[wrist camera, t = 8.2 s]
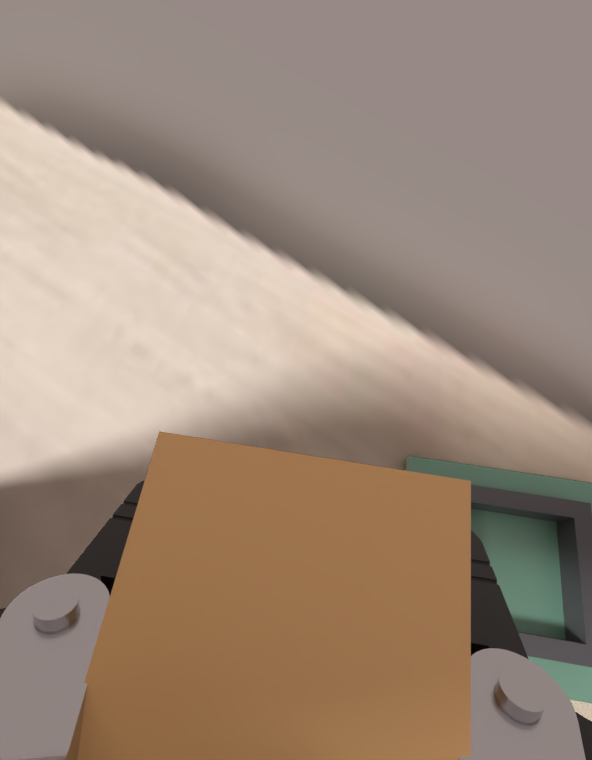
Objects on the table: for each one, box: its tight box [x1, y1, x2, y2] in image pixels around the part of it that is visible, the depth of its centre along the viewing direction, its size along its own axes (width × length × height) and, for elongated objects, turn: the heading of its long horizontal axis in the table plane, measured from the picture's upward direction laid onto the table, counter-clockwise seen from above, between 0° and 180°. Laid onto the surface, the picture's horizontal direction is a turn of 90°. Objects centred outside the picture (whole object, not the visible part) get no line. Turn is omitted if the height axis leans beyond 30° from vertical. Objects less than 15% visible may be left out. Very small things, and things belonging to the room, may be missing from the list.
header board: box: [405, 456, 592, 703], centre depth 26 cm, size 12×12×3 cm
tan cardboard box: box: [77, 432, 471, 760], centre depth 9 cm, size 4×4×9 cm
